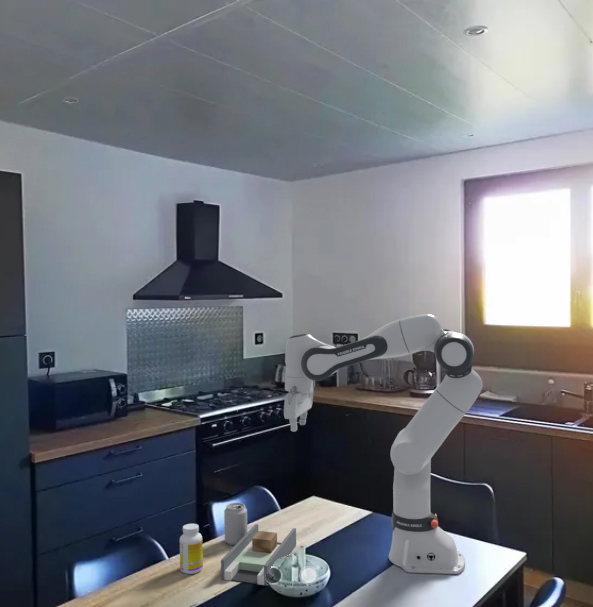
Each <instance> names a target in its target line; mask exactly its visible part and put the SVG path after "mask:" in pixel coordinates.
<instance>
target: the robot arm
mask: <svg viewBox="0 0 593 607" xmlns="http://www.w3.org/2000/svg"><path fill="white" fill-rule="evenodd" d="M284 351H285V353H284V354H285V355H284V356H285V357H284V363H285V368H286V370H285V373H284V391H287V392H288V393H286V395H285V396H284V403H283V404H284V405H283V416H284V419H285V420H288V421H289V424H290V425H289V426H290V431H291V432H294V433H295V432H297V431H298V427H299V426H298V424H297V423H298V422H297V421H299V425H300V426H305V425H306V422H307V415H308V411H309V410H311V409H312V407H313V399H314V387H315V386H316V382H322V381H326V380H327V378H329V377H331V376H332V375H334V374H335V373H337V372H338V371H339V370H340V369H343V368H345V367H349V366H353V365H356V364H359V363H362V362H365V361H371V360H382V359H383V360H384V359H392V358H393V359H394V358H400V357H405V356H409V355H413V354H416V353H419V352H424V351H426V352H427V351H428V352H432V353H434V355H435V359H436V361H437V364H438V365H439V366H440V367H441V369H442V371H443V372H444V373H445V376H444V378H443V380H442V381H441V383H439V385H438V386H437V387H436V388H435V389H434V390H433V392H432V393H431V395H429V397H428V398H427V399H426V401H424V403H423V404H422V405H421V407H420V408H419V409H418V410H417V412H416V413H415V415H414V416H413V417H412V419H411V420H410V421H409V422H408V424H407V425H406V426H405V427H404V428H402V430H400V431H399V432H398V433H397V436H396V437H395V439H394V441H393V443H392V445H391V448H390V454H389V455H390V460H391V462H392V465H393V467H394V472H393V474H394V475H393V485H392V490H393V492H392V494H393V495H392V496H393V497H392V498H393V502H392V503H393V506H392V507H393V508H392V509H393V510H392V512H391V529H392V537H391V538H392V539H391V546H390V550H389V553H388V559H389V561H390V562H391V563H392V564H394V565H396V566H397V567H399V568H401V569H402V570H404V572H406V573H412V574H413V573H415V574H416V573H417V574H446V575H447V574H448V575H458V574H460V573H462V572H463V571H464V570H465V567H466V559H465V556H464V555H463V554H462V553H461V552H460V551H458V550H457V545H456V544H457V543H456V542H455V539H454V538H453V537H452V536H451V535H450V534H448V533H447V532H446V531H444V530H443V529H442V528H441V527H440V526H439V521H438V517H437V516H438V515H437V513H435V514H434V513H433V512H431V474H432V472H431V470H432V467H431V465H432V464H431V463H432V457H433V456H434V455H435V453H437V451H438V449H439V448H440V447H441V446H442V444H443V443H444V442H445V440H446V439H447V437H448V436H449V435H450V434H451V432H452V431H453V429H454V428H455V427H456V426H457V425H458V424H459V423H460V422H461V420H462V419H463V418H464V416H465V415H466V414H467V413H468V411H469V410H470V409H471V408H472V406H474V405H473V404H474V403H475V401H476V400H477V399H478V397H479V395H480V394H481V392H482V390H483V388H484V387H483V386H484V384H483V380H482V378H481V376H480V374H479V373H478V372H476V371H475V370H474V369H473V361H474V356H475V355H474V354H475V347H474V344H473V342H472V341H471V339H470V338H469V337H468V336H467V335H466V334H465V333H462V332H459V331H456V330H450V329H446V328H444V327H442V324H441V322H440V320H439V319H438V318H437V316H435V315H433V314H430V313H425V314H416V315H411V316H406V317H402V318H399V319H395V320H394V321H391V322H389V323H386V324H385V325H383V326H381V327H379V328H377V329H376V330H374V331H373V332H372V333H369V334H368V335H367V336H365V337H363V338H361V339H359V340H356V341H353V342H350V343H347V344H343V345H340V346H337V347H336V346H334V345H332V344H328V343H324V342H323V341H320V340H318V339H317V338H315V337H313V335H311V334H309V333H301V334H296V335H292V336H289V338H288V339H287V341H286V344H285V350H284ZM298 418H299V420H298Z"/></svg>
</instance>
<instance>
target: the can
mask: <svg viewBox="0 0 593 607" xmlns="http://www.w3.org/2000/svg"><path fill="white" fill-rule="evenodd" d="M223 511H224V514H223V516H224V518H223V519H224V541H225V542H226V543H227V545H229V546H230V545H231V546H235V545H236V544H237V543H238V542H239V541H240V540H241V539H242V538H243V537H244V536H245V535H246V533H247V532H248V509H247V508H246V505H245V504H244V503H242V502H231V503H228V504H227V505H226V506H225V509H224V510H223Z"/></svg>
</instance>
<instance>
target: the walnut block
mask: <svg viewBox="0 0 593 607" xmlns="http://www.w3.org/2000/svg"><path fill="white" fill-rule="evenodd" d="M277 542H278V532H272V531H264V530H258V533H257V534H256V535H255V536H254V537H253V538H252V551H254V552H262V553H270V554H271V553H272V551H273V550H274V549H275V548H276V546H277Z"/></svg>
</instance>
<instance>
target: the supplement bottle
mask: <svg viewBox="0 0 593 607" xmlns="http://www.w3.org/2000/svg"><path fill="white" fill-rule="evenodd" d="M199 531H200V527H199V524H197V523H187V524H184V525H183V526H182V532H183V534H181V535H180V537H179V567H180V568H179V569H180V572H182V573H183V574H187V575H193V574H197V573H199V572H201V571H202V570H203V567H204V564H203V563H204V559H203V558H204V557H203V556H204V554H203V553H204V552H203V551H204V550H203V536H202V534H201V533H200V532H199Z"/></svg>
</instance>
